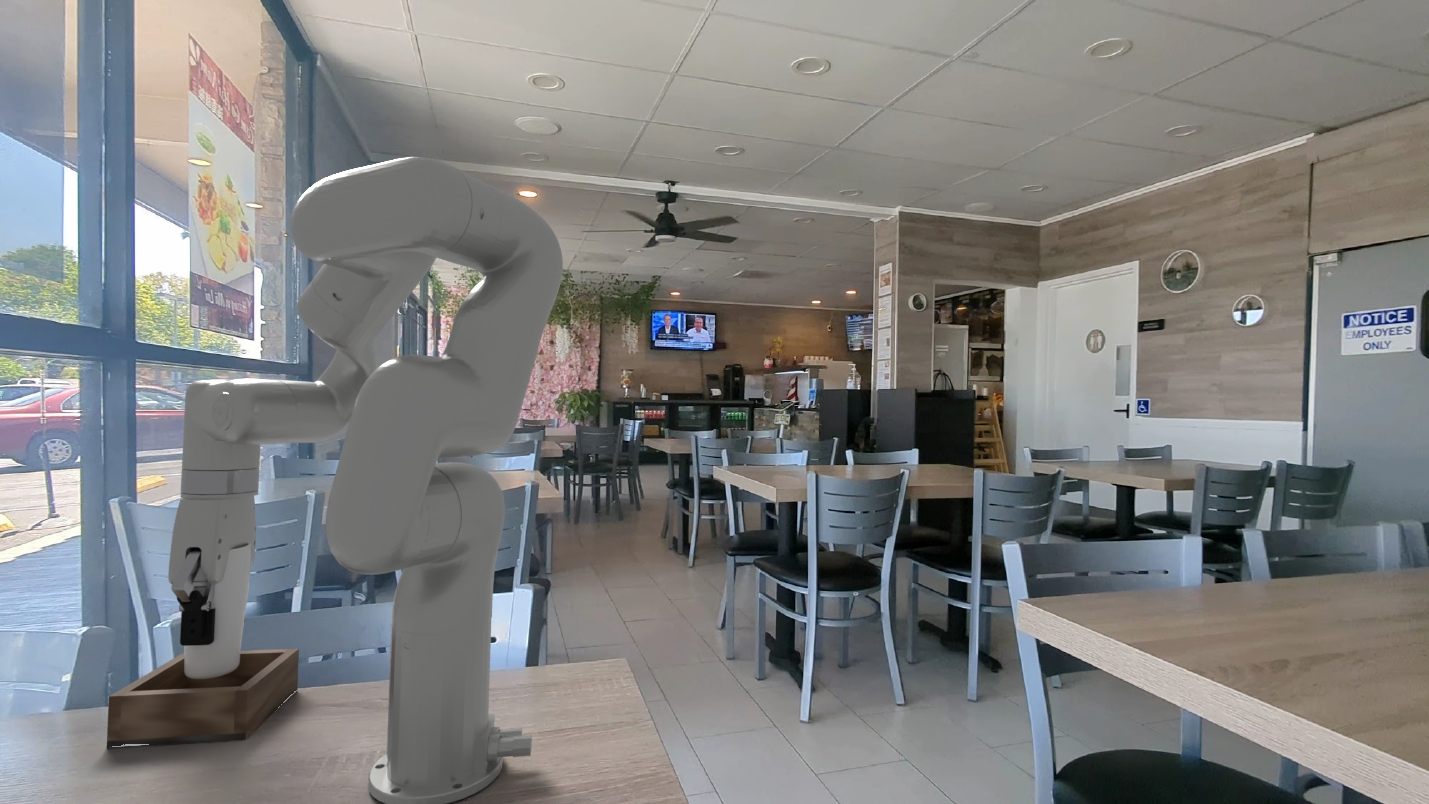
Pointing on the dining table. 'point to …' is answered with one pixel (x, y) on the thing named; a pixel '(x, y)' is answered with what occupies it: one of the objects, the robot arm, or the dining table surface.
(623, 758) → the dining table surface
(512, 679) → the dining table surface
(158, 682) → the caddy
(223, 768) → the dining table surface
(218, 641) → the drinking glass
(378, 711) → the dining table surface
